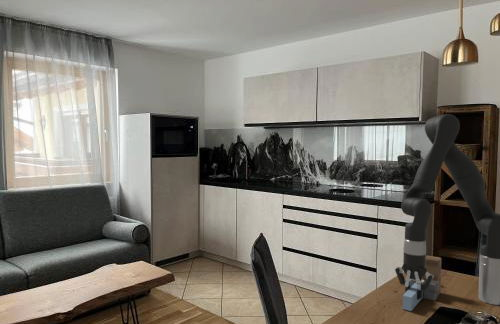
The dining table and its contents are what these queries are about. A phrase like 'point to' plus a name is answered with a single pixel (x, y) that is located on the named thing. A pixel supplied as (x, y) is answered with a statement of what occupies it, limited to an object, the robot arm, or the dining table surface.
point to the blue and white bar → (411, 297)
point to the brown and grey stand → (435, 286)
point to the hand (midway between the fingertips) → (413, 297)
